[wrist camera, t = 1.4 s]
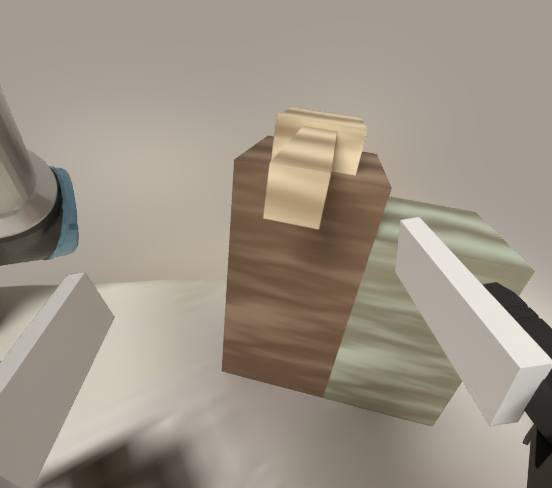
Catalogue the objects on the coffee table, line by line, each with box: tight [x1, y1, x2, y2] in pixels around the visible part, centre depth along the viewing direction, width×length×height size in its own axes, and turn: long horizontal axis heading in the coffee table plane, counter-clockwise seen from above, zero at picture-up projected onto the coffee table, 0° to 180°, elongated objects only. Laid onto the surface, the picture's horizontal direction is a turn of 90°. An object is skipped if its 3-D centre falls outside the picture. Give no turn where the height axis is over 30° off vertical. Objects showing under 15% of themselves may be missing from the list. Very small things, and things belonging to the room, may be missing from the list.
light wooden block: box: [263, 107, 367, 229], centre depth 26 cm, size 24×8×4 cm, turn 169°
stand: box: [222, 136, 535, 426], centre depth 39 cm, size 14×28×29 cm, turn 79°
